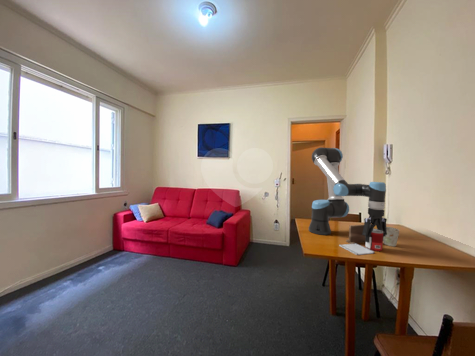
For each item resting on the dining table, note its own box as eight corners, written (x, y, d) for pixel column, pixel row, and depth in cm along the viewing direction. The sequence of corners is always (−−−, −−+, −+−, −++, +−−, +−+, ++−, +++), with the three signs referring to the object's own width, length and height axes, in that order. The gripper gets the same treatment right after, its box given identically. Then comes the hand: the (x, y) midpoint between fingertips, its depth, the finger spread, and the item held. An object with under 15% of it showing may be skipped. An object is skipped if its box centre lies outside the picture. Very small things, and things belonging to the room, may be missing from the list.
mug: (402, 247, 107) (402, 231, 106) (378, 245, 109) (378, 229, 109) (392, 242, 115) (393, 227, 114) (370, 240, 117) (371, 225, 117)
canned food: (384, 249, 103) (385, 230, 103) (378, 252, 99) (379, 233, 99) (369, 244, 110) (370, 227, 110) (363, 247, 106) (364, 229, 105)
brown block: (346, 241, 114) (346, 224, 114) (363, 240, 118) (364, 223, 117) (352, 244, 110) (353, 227, 109) (370, 243, 113) (371, 225, 113)
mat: (339, 245, 107) (339, 244, 107) (355, 244, 110) (355, 243, 110) (356, 255, 96) (356, 253, 96) (374, 253, 98) (374, 251, 98)
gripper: (368, 210, 98) (365, 251, 99) (396, 209, 103) (394, 248, 103) (355, 207, 105) (353, 245, 106) (383, 206, 110) (381, 243, 111)
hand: (373, 247), depth 105 cm, fingers closed on canned food, 8 cm apart
